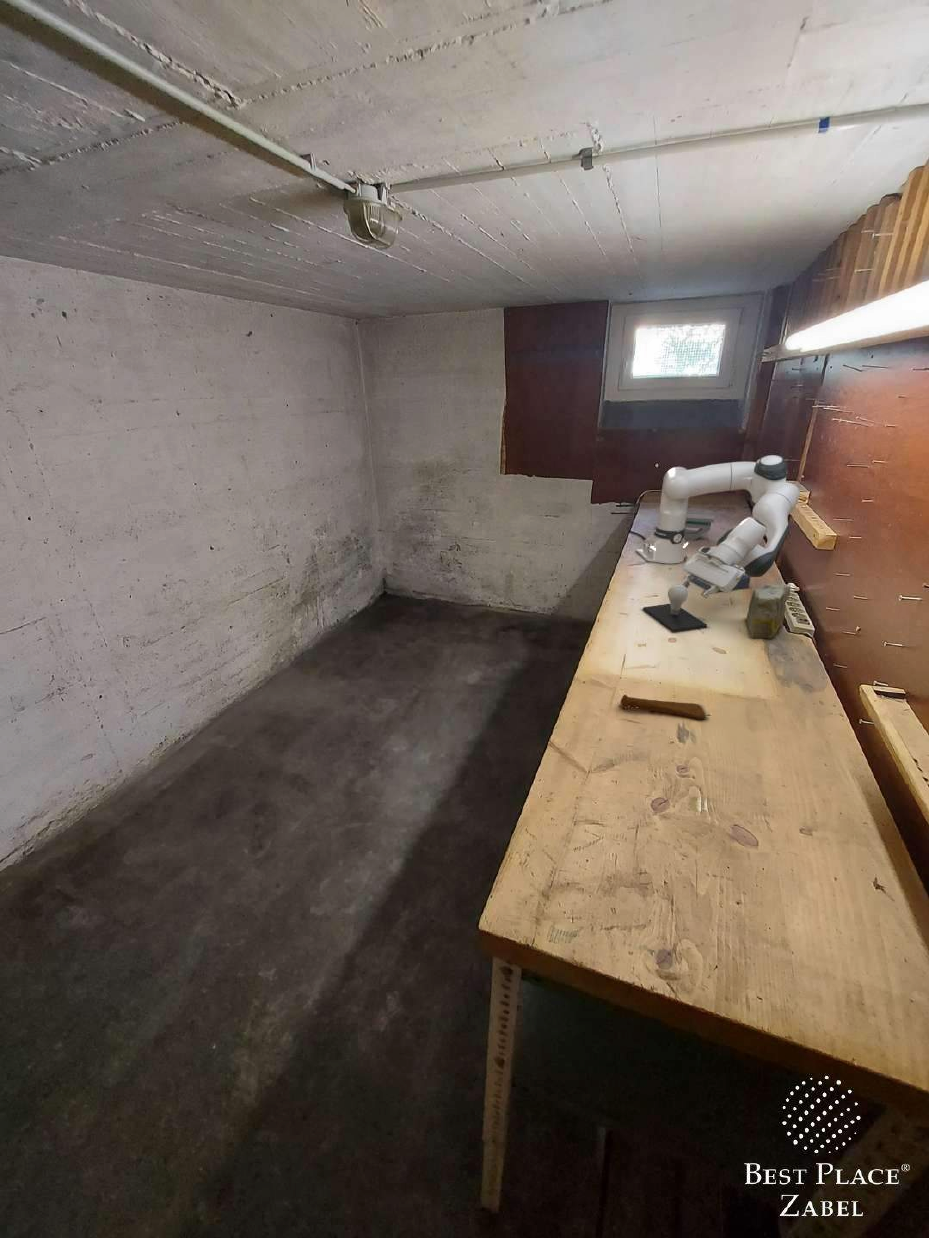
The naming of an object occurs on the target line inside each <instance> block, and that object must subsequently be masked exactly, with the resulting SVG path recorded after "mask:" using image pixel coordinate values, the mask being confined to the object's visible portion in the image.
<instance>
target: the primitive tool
mask: <svg viewBox="0 0 929 1238" xmlns="http://www.w3.org/2000/svg"><path fill="white" fill-rule="evenodd" d="M621 705H622V706H623V707H622V706H621ZM620 706H621V708H622V709H627V708H633V709H641V710H646V711H650V712H660V713H666V714H667V713H668V714H672V715H677V716H684V717H688V718H695V719H697V720H704V719H705V718H706V714H705V712H704V710H703V708H702V706H701V705H700V704H698V703H693V702H691V703H690V702H676V701H666V700H665V701H664V700H656V699H648V698H647V699H646V698H638V697H633V696H632V697H631V696H628V695H627V694H623V696H622V697H621V698H620ZM628 706H630V707H628ZM625 707H626V708H625ZM636 707H638V708H636Z"/></svg>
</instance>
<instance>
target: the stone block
mask: <svg viewBox="0 0 929 1238" xmlns="http://www.w3.org/2000/svg"><path fill="white" fill-rule="evenodd" d="M790 593H791V586H789V585H785V584H783V585H781V584H772V583H771V584H769V583H765V584H764V585H761V586H759V587H757V588H755V589H753V592H752V595H751V598H750V601H749V605H748V610H747V614H746V622H747V625H748V630H749V634H750V637H751V638H752V639H754V638H760V639H761V638H762V639H771V638H773V637H774V636H775V635H776V634H777V633H778V630H779V629H780V627H782V626H783V622H784V620H785V616H786V615H785V613H786V610H787V609H786V606H787V601H788V599H789V597H790V596H789V595H790Z"/></svg>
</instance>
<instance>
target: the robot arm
mask: <svg viewBox="0 0 929 1238" xmlns="http://www.w3.org/2000/svg"><path fill="white" fill-rule="evenodd" d="M787 476H789V470H788V463H787V460H786V459H785V458H784V457H783V456H781V455H778V454H768V455H764V456H761V457H760V458H759V459H757V460H756V462H755V461H733V462H723V463H717V464H707V465H705V466H701V467H696V468H691V469H687V468H685V467H682V466H673V467H671V468H670V469H669V470H668V471H666V473H665V474H664V476H663V479H662V480H663V481H662V487H661V496H660V502H659V503H660V504H659V512H658V519H657V526H653V529H654V532H653V534H652V535H650V536H649V537H647V538H646V537H645V536H644V535H642V534H640V533H638V532H635V531H632V530H630V526H627V531H628V532H629V533H631V534H634V535H637V536H639V537H641V538H642V539H644V540H643V545H642V547H640V548H637V549H636V552H637V554H639V555H640V556H641V557H642V558H643V559H645V561H647V562H652V563H660V564H669V565H671V564H679V563H683V562H684V559H685V558H686V556H687V554H685V550H686V547H687V546H688V544H689V542H686V539H684V536H685V529H686V527H685V522H686V516H687V514H688V510H689V509H688V508H689V507H688V506H689V498H693V497H696V496H697V497H698V496H701V495H706V494H712V493H722V492H730V491H731V492H733V491H739V490H746V491H747V492H749V493H748V494H747V495H746V498H747V499H748V500H749V502H750V505H751V507H752V511H751V514H752V516H748V517H746V518H745V519H744V520H742V521H741V522H740V523H738V524H737V525H736V526H735V527H734V528H729V529H727V531H726V532H725V533H724V534H723V535H722V536H721V537H720V538H719V539H718V540H717V541H716V546H715V545H714V546H701V547H700V548H699V549H698V552H697V553H694V554H693V555H692V556H691V557H690V558H688V560H687V561H686V562H685V563H684V565H683V566H682V570H683V572H684V573H686V575H685V577H684V581H683V582H682V583H681V585H682V586H684V587H685V588H686V589H688V588H689V587H690V586H691V583H690V582H691V580H692V579H693V578H696V579H698V580H700V581H702V582H704V583H706V584H709V585H711V588H710V589H709V590H707V589H704V590H703V591H702V592H701V593H700V595H701V597H703V598H705V599H707V598H709V597H710V595H714V594H715V593H718V592H719V591H718V590H721V591H720V592H723V593H725V594H727V593H730V592H732V591H733V590H734V589H733V588H734V587H735V586H736V585H737V583H738V582H739V580H740V579H741V577H742V576H743V575H746V576H748V577H750V578H762V577H763V576H764V575H767V573H768V572H769V571H770V570H771V569H772V567H773V566H774V563H775V562H776V558H777V555H778V553H779V551H780V549H781V547H782V546H783V544H784V542H785V540H786V538H787V536H788V534H789V531H790V528H791V527H790V523H789V518H788V517H789V515H790V513H792V511H793V510H794V509H795V507H796V506H797V504H798V502H799V500H800V498H801V497H800V496H801V491H800V489H799V488H798V486H797V485H795V484H794V483H791V482H788V481H787ZM764 537H765V538H766V539H767V541H766V544H765V545H764V547H763V546H761V544H760V542H761V541H762V539H764ZM732 589H733V590H732ZM717 591H718V592H717Z"/></svg>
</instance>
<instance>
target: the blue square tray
mask: <svg viewBox="0 0 929 1238" xmlns="http://www.w3.org/2000/svg"><path fill="white" fill-rule="evenodd" d="M690 582H692V583H694V584H696V585H698V586H700V587H702V588H703V589H704V590H706V591H707V590H709V589H710V588H711V585H709V584H706V583H704V582H702V581H700V580H698V579H696V578H693V579H692V580H690ZM750 582H751V577H748V576H747V575H746V574H744V575H743V576H742V577H741V579H740V580H739V582H738V583H737V585H736V586H735V587H734V588H733V589H732V591H733V590H739V589H747V588H749V586H750ZM718 592H722V591H721V590H718V591H717V592H716V593H718Z"/></svg>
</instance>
